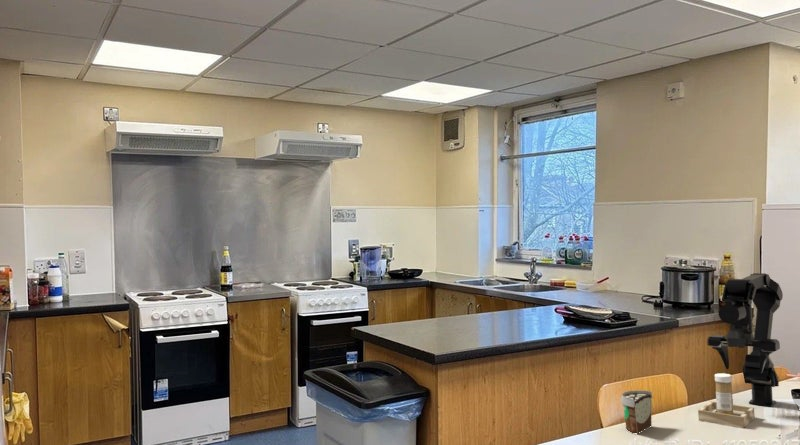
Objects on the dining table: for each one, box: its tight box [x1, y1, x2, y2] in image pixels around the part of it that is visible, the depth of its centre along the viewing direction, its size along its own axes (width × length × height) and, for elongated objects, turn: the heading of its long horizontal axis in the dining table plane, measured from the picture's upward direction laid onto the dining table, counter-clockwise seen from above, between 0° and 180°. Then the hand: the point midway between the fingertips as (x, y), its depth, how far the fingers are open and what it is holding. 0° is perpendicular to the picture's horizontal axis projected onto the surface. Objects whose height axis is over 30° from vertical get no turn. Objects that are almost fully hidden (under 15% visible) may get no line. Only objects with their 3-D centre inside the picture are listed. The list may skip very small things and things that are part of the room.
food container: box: [620, 390, 653, 435], centre depth 176 cm, size 12×6×10 cm, turn 135°
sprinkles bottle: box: [714, 372, 734, 415], centre depth 181 cm, size 5×5×13 cm
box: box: [697, 401, 755, 429], centre depth 181 cm, size 12×12×3 cm
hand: (744, 370), depth 186 cm, fingers open, 9 cm apart
